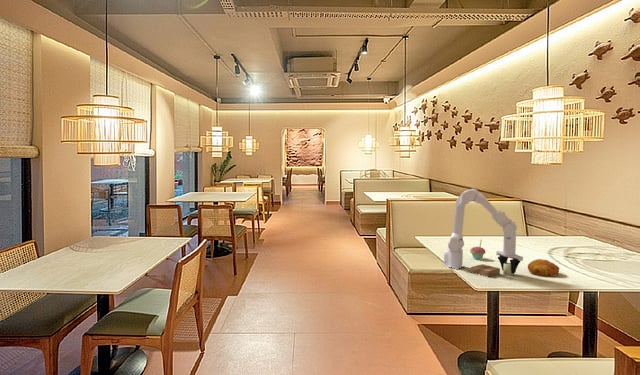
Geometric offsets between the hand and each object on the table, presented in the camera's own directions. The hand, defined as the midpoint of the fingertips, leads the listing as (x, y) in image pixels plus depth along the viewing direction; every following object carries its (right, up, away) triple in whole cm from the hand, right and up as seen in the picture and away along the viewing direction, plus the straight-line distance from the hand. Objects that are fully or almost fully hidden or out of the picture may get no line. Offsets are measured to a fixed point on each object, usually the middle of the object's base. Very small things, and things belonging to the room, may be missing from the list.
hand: (508, 271), depth 215 cm
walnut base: (-11, -1, +2) cm, 11 cm away
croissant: (+19, -2, +3) cm, 19 cm away
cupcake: (-4, +1, +33) cm, 33 cm away
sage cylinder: (0, -1, 0) cm, 1 cm away
